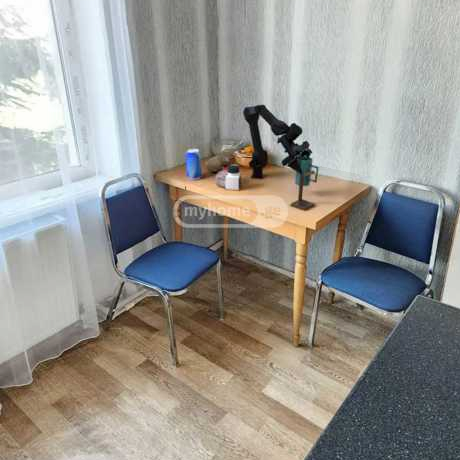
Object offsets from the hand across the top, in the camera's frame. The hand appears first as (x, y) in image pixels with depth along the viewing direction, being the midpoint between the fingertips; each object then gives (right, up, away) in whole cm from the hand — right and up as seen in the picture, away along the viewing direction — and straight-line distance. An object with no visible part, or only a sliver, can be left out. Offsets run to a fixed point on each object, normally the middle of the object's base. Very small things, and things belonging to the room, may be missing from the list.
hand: (306, 171), depth 194 cm
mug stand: (0, -16, -4) cm, 16 cm away
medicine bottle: (-34, -7, +14) cm, 38 cm away
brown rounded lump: (-46, +6, +44) cm, 63 cm away
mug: (0, -6, +2) cm, 7 cm away
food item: (-39, -5, +20) cm, 44 cm away
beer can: (-58, -1, +29) cm, 65 cm away
